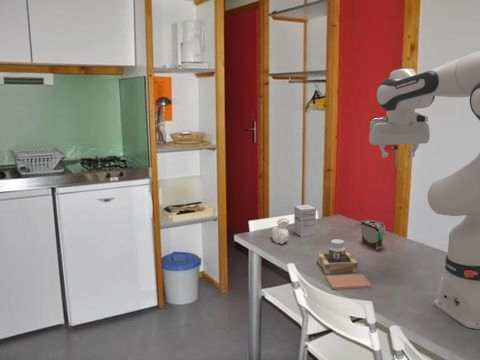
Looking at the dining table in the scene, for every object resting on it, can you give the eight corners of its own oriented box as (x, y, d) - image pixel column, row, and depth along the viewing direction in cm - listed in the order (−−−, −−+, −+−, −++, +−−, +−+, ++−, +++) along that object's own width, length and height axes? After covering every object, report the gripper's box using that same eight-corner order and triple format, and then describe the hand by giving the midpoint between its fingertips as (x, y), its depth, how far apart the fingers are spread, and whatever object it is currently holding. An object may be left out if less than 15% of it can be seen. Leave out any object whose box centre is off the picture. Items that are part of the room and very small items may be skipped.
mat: (371, 287, 154) (371, 285, 154) (332, 289, 154) (332, 287, 153) (362, 276, 163) (362, 274, 163) (325, 278, 162) (325, 276, 162)
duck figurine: (287, 250, 196) (302, 227, 197) (274, 242, 193) (289, 219, 194) (275, 241, 207) (289, 220, 208) (262, 233, 204) (276, 211, 205)
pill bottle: (345, 270, 169) (345, 244, 167) (329, 269, 170) (329, 243, 168) (345, 264, 174) (345, 238, 172) (329, 263, 175) (329, 238, 173)
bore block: (357, 272, 167) (357, 263, 166) (325, 274, 166) (325, 264, 165) (348, 260, 178) (348, 251, 177) (317, 261, 177) (317, 253, 177)
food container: (391, 250, 187) (392, 226, 185) (378, 252, 185) (379, 228, 183) (372, 240, 199) (372, 218, 196) (359, 243, 196) (360, 220, 194)
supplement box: (293, 232, 212) (293, 205, 210) (308, 230, 214) (308, 203, 212) (300, 237, 205) (300, 209, 203) (316, 235, 208) (316, 207, 205)
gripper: (373, 118, 157) (371, 159, 160) (432, 116, 158) (430, 157, 161) (367, 117, 163) (365, 156, 166) (424, 115, 164) (422, 154, 167)
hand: (398, 157), depth 164 cm, fingers open, 8 cm apart
